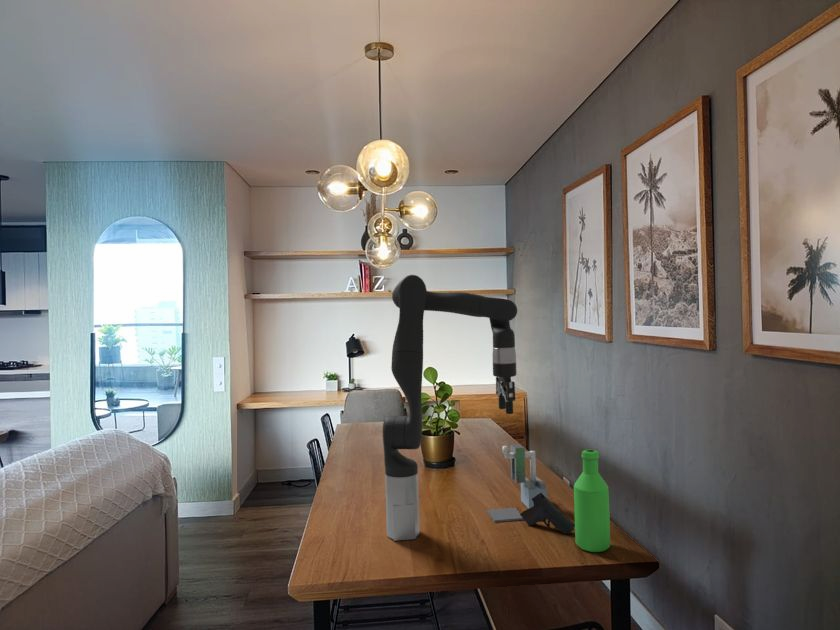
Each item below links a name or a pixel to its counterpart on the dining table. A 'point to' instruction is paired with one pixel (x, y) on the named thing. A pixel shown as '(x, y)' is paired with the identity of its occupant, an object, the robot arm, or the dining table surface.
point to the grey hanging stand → (532, 485)
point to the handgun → (547, 515)
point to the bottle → (591, 506)
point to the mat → (504, 515)
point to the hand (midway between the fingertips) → (505, 411)
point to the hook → (518, 463)
